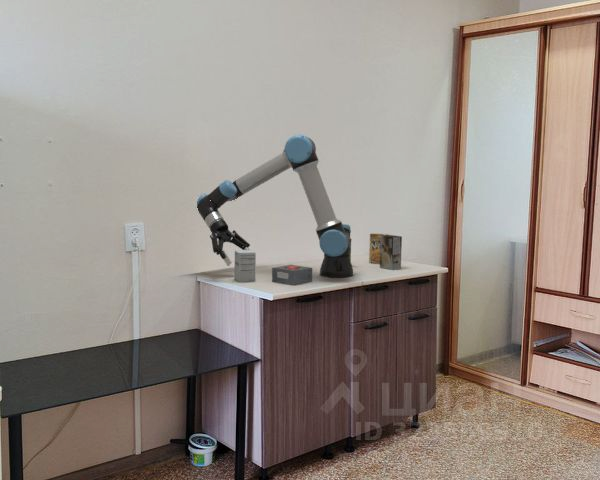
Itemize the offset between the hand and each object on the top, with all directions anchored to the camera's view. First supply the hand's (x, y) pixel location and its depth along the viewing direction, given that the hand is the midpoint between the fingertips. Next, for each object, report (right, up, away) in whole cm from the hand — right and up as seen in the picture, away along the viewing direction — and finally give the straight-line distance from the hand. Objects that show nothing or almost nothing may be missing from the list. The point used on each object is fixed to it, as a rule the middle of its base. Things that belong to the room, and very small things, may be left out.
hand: (241, 262), depth 260 cm
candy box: (+65, -3, +56) cm, 86 cm away
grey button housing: (+22, -8, -1) cm, 23 cm away
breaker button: (+21, -7, -1) cm, 23 cm away
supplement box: (+1, -8, 0) cm, 8 cm away
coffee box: (+69, -5, +40) cm, 80 cm away
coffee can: (+45, -4, +42) cm, 62 cm away
